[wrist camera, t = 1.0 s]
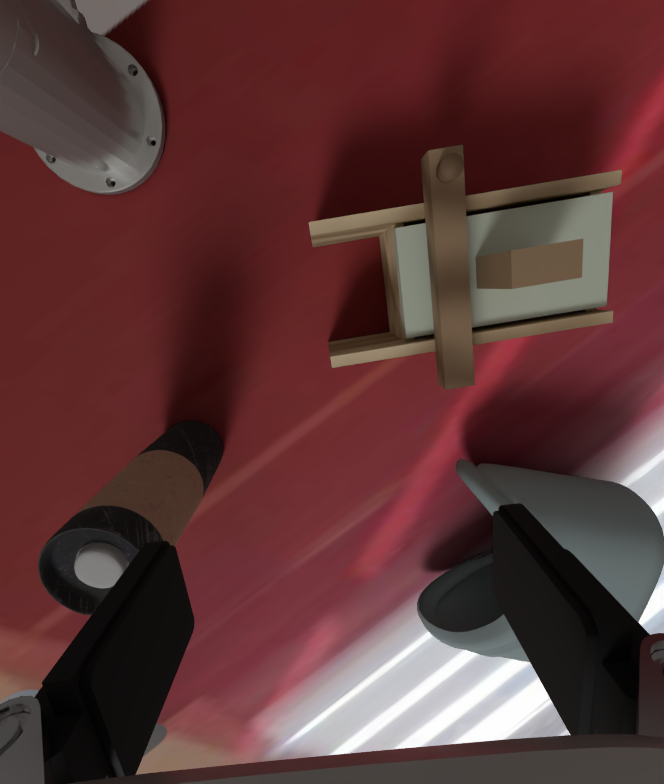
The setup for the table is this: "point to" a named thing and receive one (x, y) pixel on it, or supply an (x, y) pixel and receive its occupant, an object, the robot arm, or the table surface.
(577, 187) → the toolbox
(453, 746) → the robot arm
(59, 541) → the travel mug
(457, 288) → the wooden bar
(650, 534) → the grey hat
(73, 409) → the table surface
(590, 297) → the lid
